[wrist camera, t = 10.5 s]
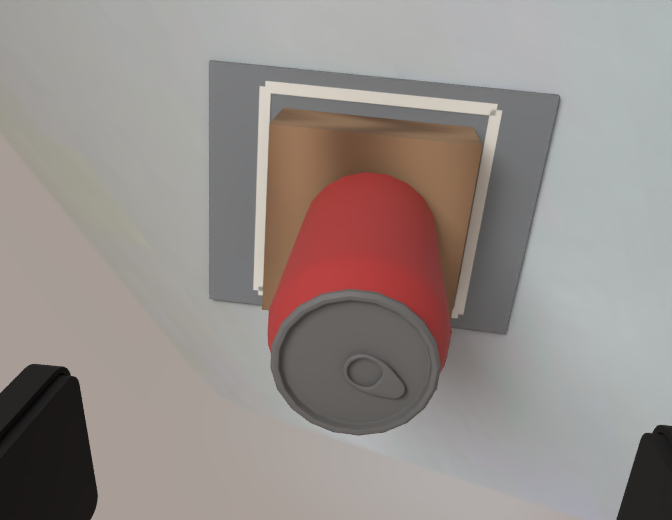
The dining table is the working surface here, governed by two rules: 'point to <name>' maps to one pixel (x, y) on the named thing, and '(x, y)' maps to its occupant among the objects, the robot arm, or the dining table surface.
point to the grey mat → (382, 102)
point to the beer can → (361, 308)
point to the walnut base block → (373, 157)
